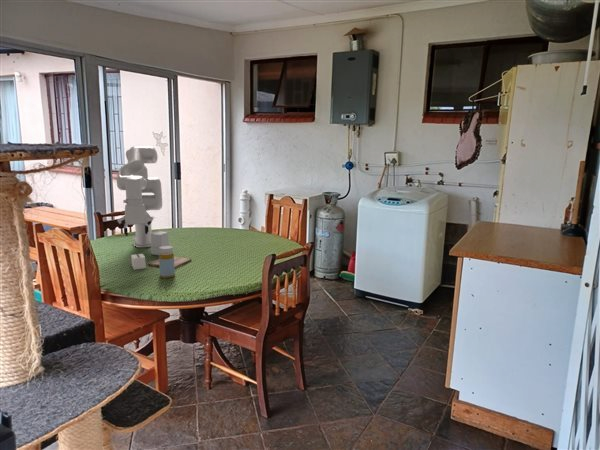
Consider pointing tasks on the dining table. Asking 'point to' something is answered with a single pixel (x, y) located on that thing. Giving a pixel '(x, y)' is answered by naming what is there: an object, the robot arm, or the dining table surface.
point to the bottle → (166, 262)
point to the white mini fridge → (138, 261)
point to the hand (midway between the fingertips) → (136, 234)
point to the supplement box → (158, 241)
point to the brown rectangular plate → (177, 262)
